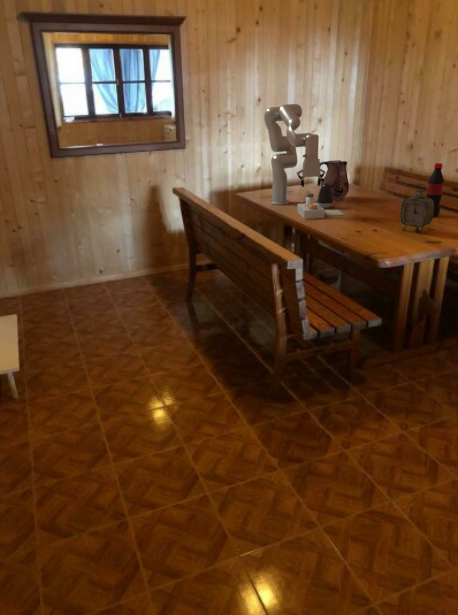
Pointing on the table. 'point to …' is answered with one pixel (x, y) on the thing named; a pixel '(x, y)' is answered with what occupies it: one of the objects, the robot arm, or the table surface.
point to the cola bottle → (436, 187)
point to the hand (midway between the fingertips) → (310, 186)
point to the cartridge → (309, 199)
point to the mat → (333, 213)
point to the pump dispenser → (325, 196)
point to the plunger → (312, 206)
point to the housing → (310, 211)
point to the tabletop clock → (417, 210)
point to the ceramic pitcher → (336, 178)
